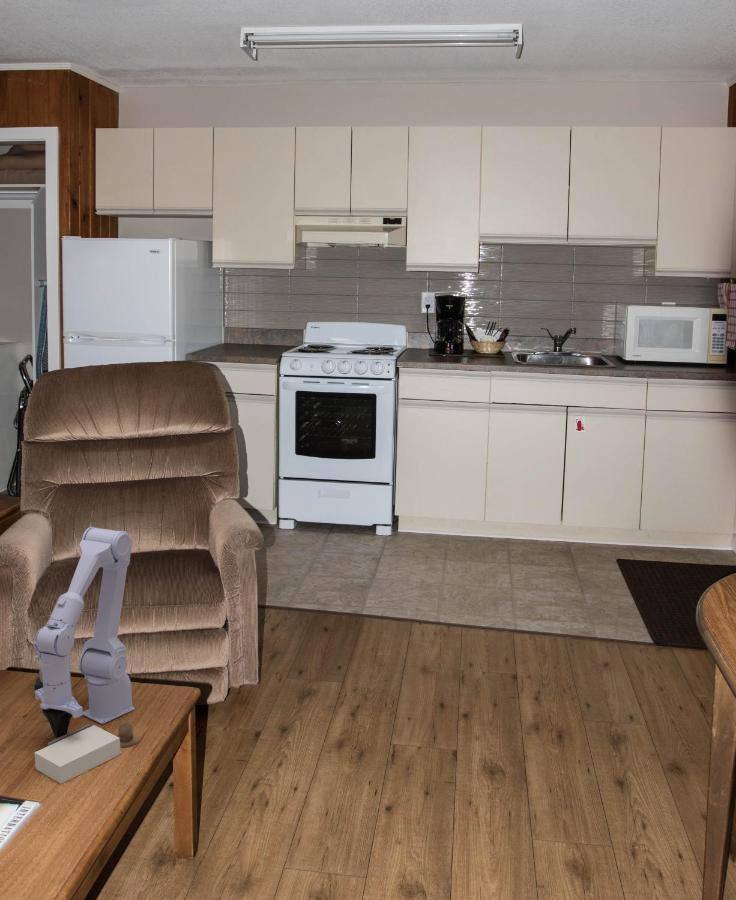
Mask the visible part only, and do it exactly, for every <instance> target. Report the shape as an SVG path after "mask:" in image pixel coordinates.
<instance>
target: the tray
mask: <svg viewBox="0 0 736 900" xmlns="http://www.w3.org/2000/svg"><path fill="white" fill-rule="evenodd" d="M91 726H92V725H91V724H90V723H87V724H85V725H84V726H81V727H80V728H76V729H75V730H73V731H70V732H67V734H66V735H64V736H62V737H59V738H57V739H56V738H55V739H53V740H51V741H48V742H47V747H48V746H50V745H52V744H54V743H56V742H58V741H61V740H63V739H65V738H67V737H69V736H71V735H74V734H76V733H78V732H80V731H82V730H84V729H87V728H89V727H91Z"/></svg>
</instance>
